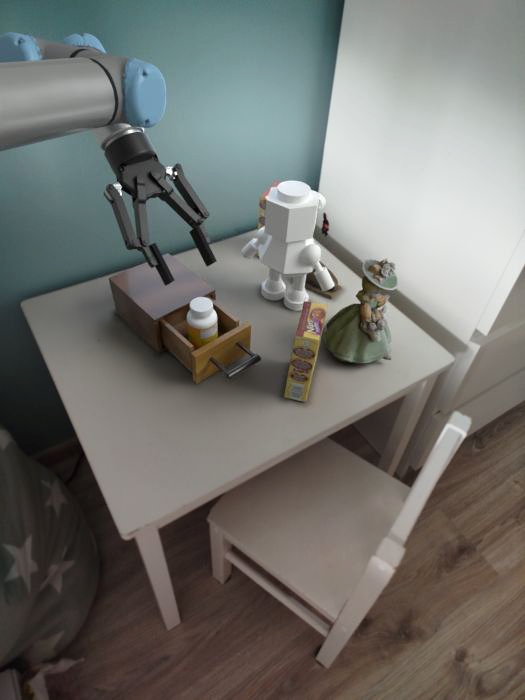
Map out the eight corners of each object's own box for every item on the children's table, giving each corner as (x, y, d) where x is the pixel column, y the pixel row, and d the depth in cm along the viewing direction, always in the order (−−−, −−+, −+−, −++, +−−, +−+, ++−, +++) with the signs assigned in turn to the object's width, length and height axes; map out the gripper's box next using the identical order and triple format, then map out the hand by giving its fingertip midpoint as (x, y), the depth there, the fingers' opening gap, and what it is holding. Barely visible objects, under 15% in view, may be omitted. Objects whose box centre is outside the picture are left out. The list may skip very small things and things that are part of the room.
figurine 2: (277, 275, 106) (280, 242, 100) (288, 266, 109) (291, 234, 102) (331, 299, 101) (338, 266, 95) (341, 289, 103) (348, 256, 97)
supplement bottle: (184, 338, 87) (181, 298, 80) (211, 331, 89) (210, 291, 82) (194, 357, 84) (191, 317, 77) (222, 349, 86) (221, 309, 79)
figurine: (369, 390, 83) (398, 304, 69) (304, 353, 89) (318, 267, 74) (403, 346, 92) (435, 262, 77) (342, 315, 97) (361, 231, 83)
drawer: (270, 368, 84) (273, 342, 80) (217, 403, 78) (216, 377, 73) (203, 312, 94) (201, 285, 90) (151, 339, 88) (146, 312, 83)
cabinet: (216, 323, 94) (215, 289, 87) (159, 354, 87) (154, 320, 81) (171, 286, 101) (167, 252, 95) (116, 312, 94) (108, 277, 88)
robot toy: (340, 302, 100) (364, 194, 82) (315, 332, 93) (336, 220, 75) (255, 267, 108) (260, 160, 90) (227, 292, 101) (226, 182, 83)
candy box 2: (307, 403, 80) (320, 341, 69) (283, 398, 81) (292, 335, 70) (315, 367, 86) (328, 304, 76) (293, 362, 87) (302, 299, 76)
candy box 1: (271, 261, 110) (276, 201, 99) (255, 256, 111) (258, 196, 100) (286, 243, 115) (292, 184, 104) (271, 238, 117) (275, 180, 106)
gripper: (66, 146, 65) (144, 293, 69) (186, 116, 75) (249, 245, 79) (58, 169, 71) (130, 302, 75) (171, 139, 82) (229, 257, 85)
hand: (191, 273), depth 77 cm, fingers open, 8 cm apart
